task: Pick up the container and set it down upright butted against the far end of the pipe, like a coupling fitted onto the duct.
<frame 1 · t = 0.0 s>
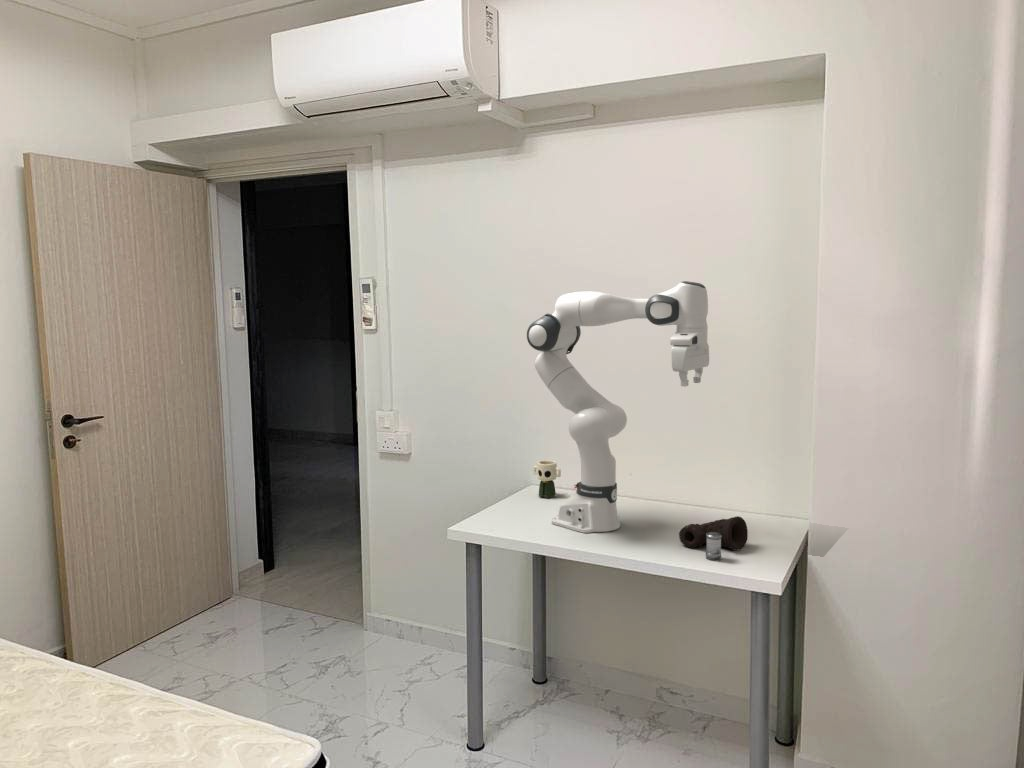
hand: (690, 384, 227), 48 cm above the table, fingers open, 8 cm apart
pipe: (713, 546, 231), on the table
container: (713, 558, 219), on the table
character mug: (547, 497, 287), on the table
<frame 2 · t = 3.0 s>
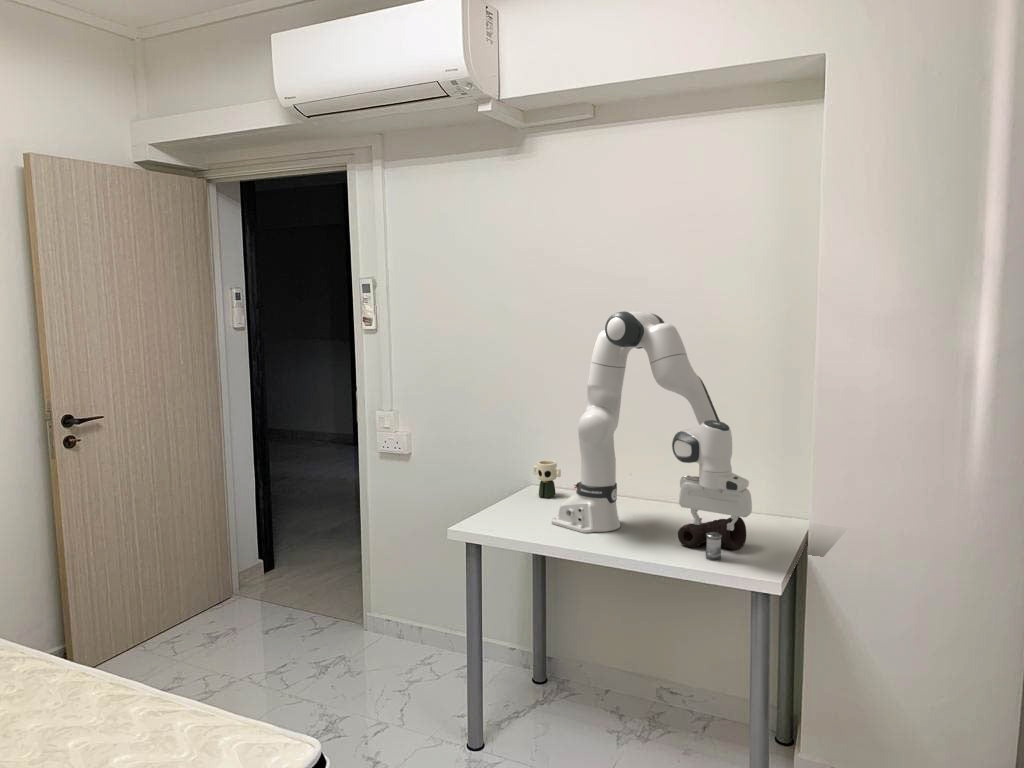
hand: (714, 527, 218), 9 cm above the table, fingers open, 8 cm apart
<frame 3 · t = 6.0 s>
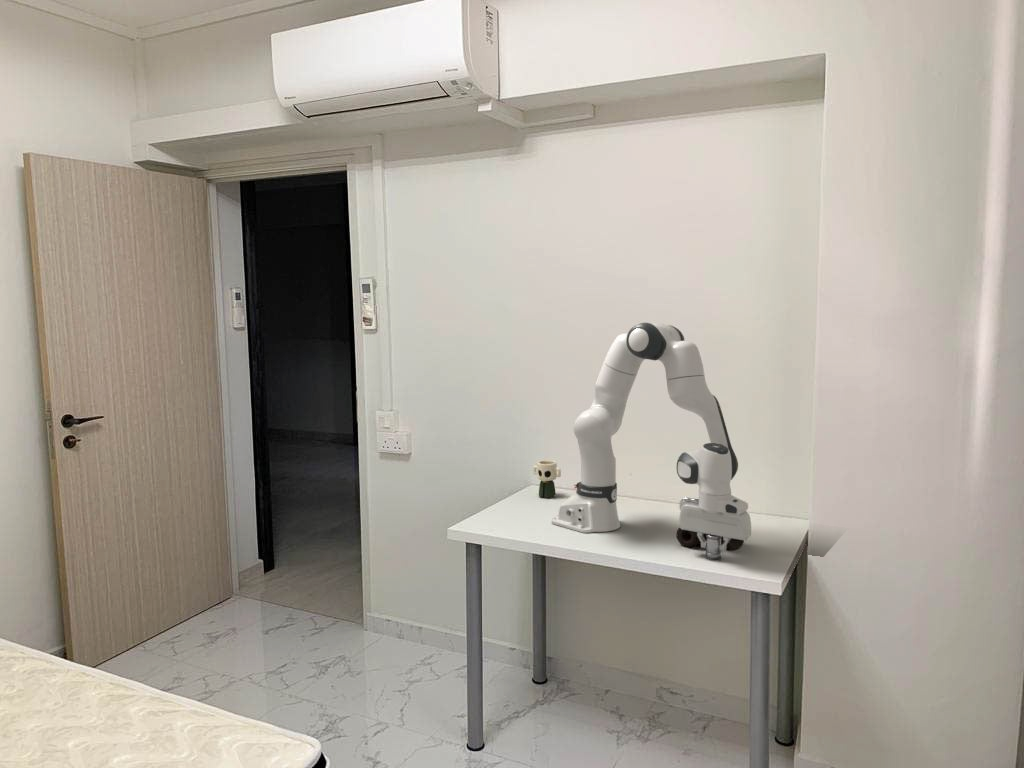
hand: (713, 549, 219), 3 cm above the table, fingers closed on container, 4 cm apart
container: (713, 558, 219), on the table, touching gripper
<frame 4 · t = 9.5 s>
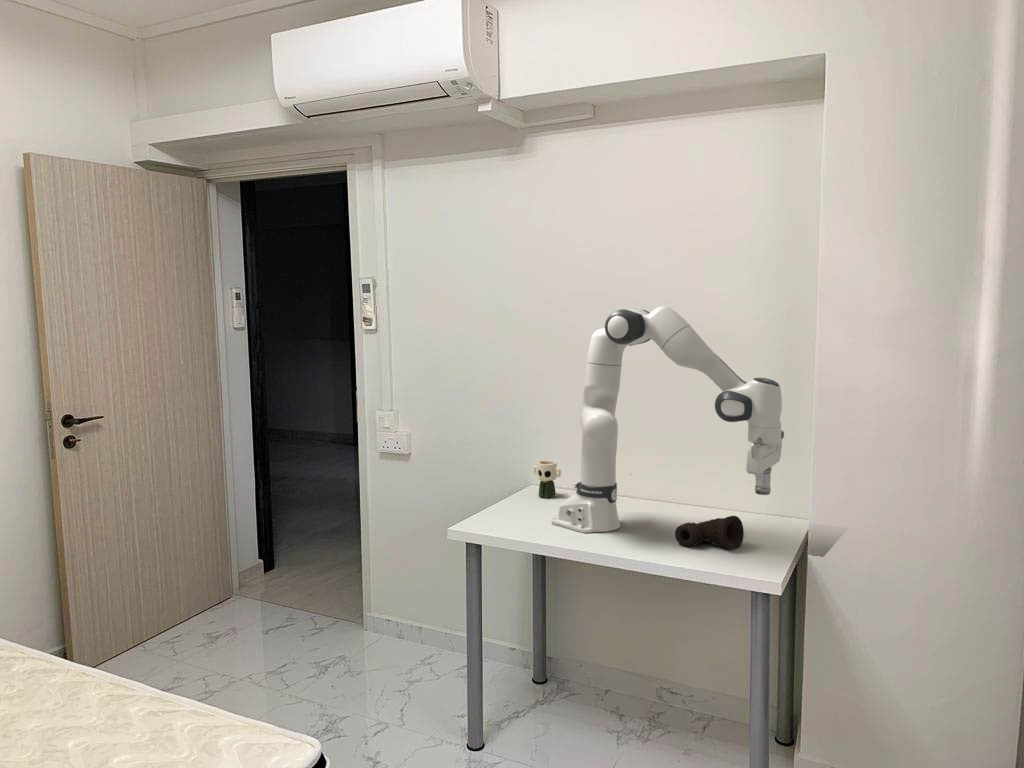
hand: (763, 483, 220), 21 cm above the table, fingers closed on container, 4 cm apart
container: (762, 493, 220), point 18 cm above the table, touching gripper
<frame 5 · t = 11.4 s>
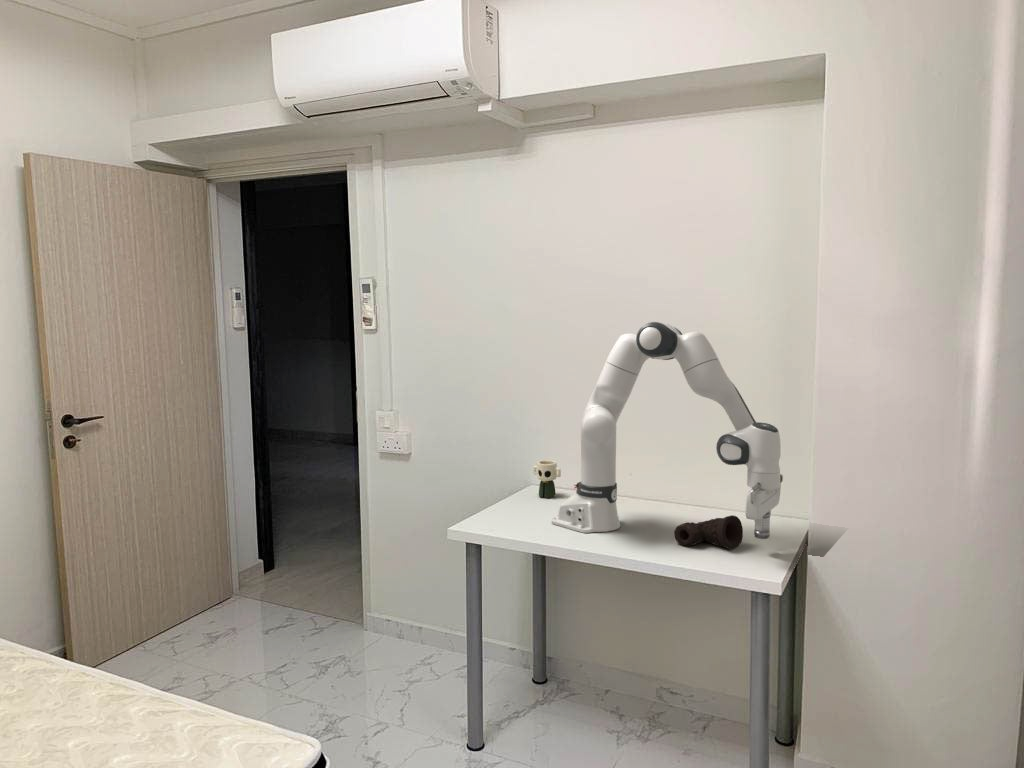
hand: (762, 527, 222), 8 cm above the table, fingers closed on container, 4 cm apart
container: (761, 536, 222), point 5 cm above the table, touching gripper
when the fingers open (4 cm above the table, at t = 13.0 s): container drops 1 cm, on the table.
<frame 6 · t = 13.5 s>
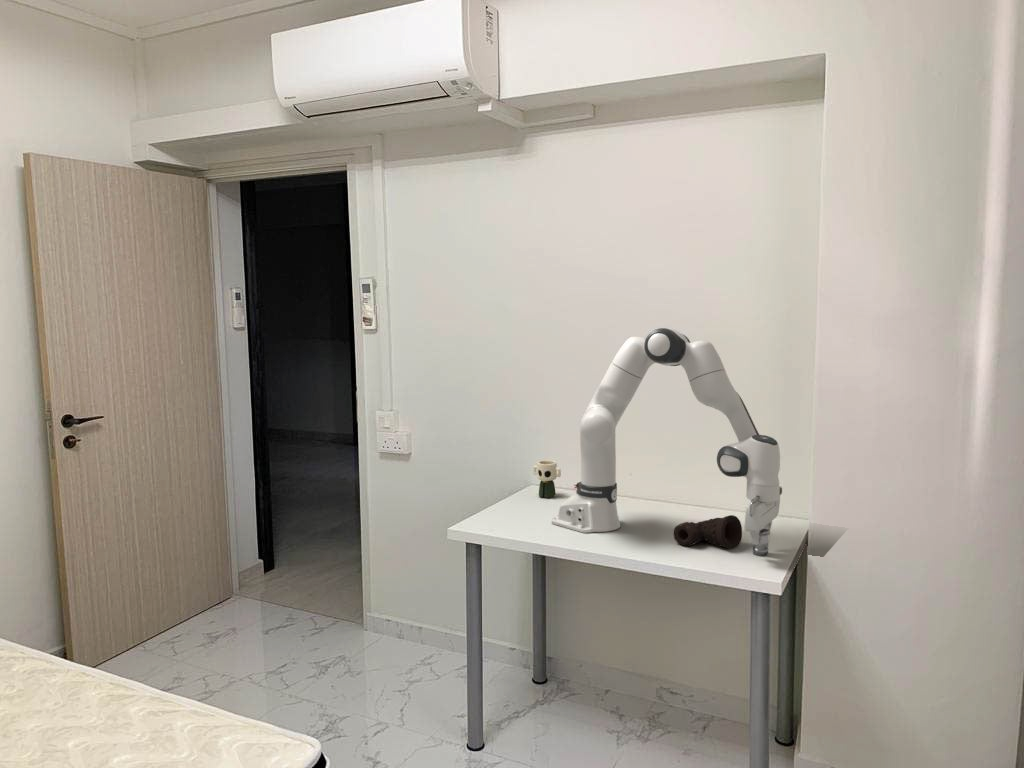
hand: (761, 539, 222), 4 cm above the table, fingers open, 8 cm apart
container: (760, 554, 223), on the table
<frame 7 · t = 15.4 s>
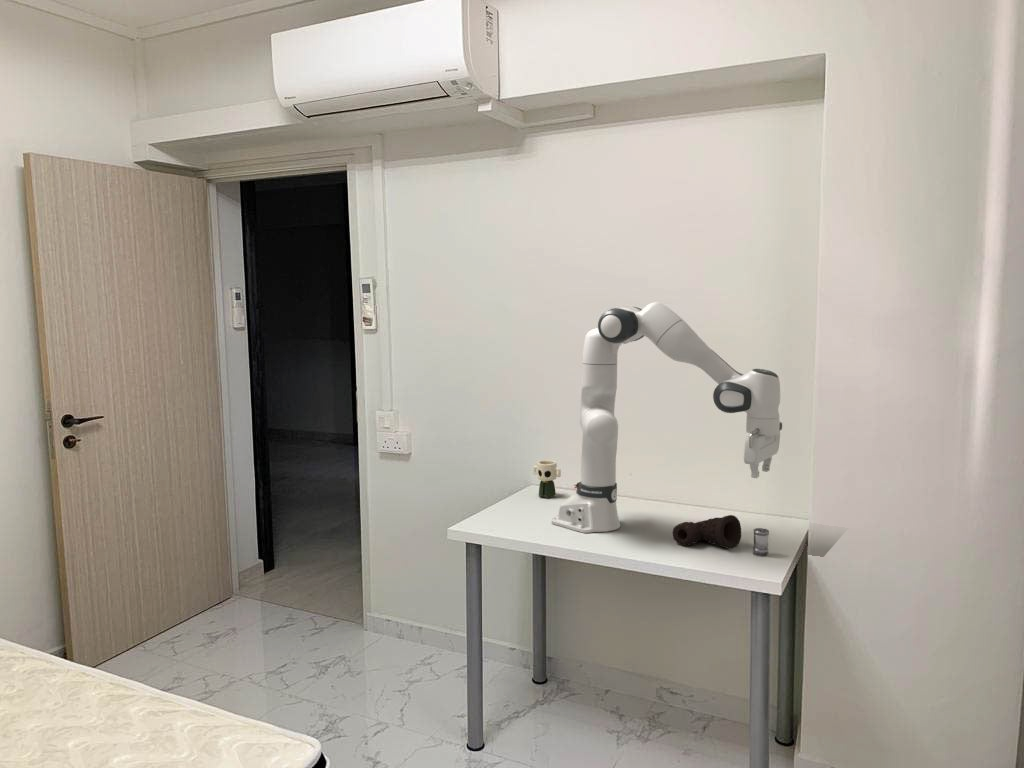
hand: (760, 474, 221), 23 cm above the table, fingers open, 8 cm apart
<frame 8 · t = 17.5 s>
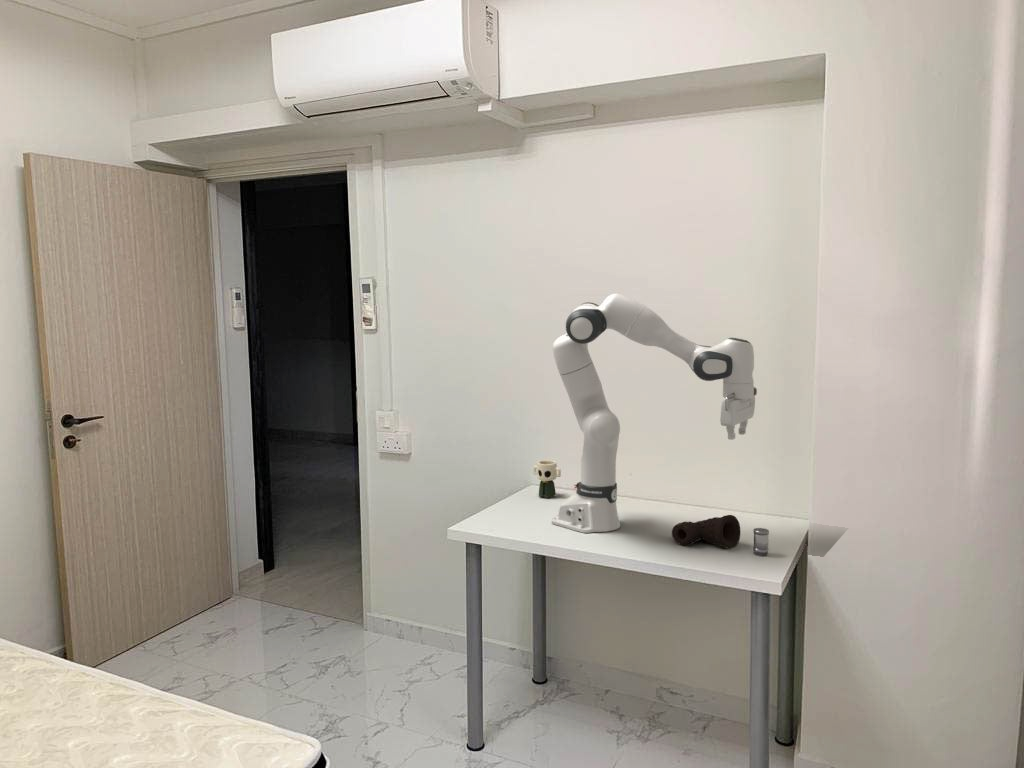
hand: (736, 436, 235), 31 cm above the table, fingers open, 8 cm apart
at the end: container inside the target area on the table beside the pipe (2.3 cm from its centre), on the table; container tilted 1°; the gripper is holding nothing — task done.
